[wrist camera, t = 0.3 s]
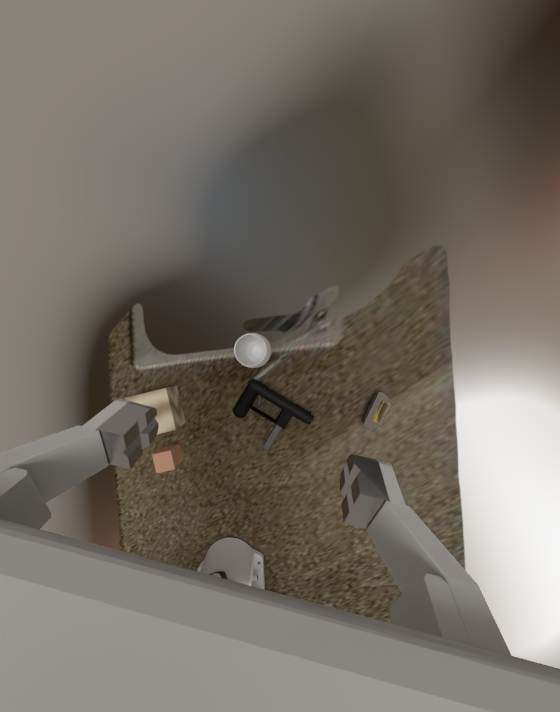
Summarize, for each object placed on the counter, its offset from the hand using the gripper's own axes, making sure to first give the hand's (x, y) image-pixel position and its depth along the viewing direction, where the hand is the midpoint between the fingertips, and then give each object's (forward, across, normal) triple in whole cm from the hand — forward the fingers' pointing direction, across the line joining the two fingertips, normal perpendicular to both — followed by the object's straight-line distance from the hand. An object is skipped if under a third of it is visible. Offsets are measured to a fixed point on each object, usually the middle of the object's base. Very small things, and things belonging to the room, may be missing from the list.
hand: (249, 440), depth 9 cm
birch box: (+38, -31, -41) cm, 64 cm away
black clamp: (+41, -1, -37) cm, 56 cm away
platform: (+46, +26, -30) cm, 61 cm away
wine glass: (+49, -7, -22) cm, 54 cm away
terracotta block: (+33, -25, -51) cm, 66 cm away
